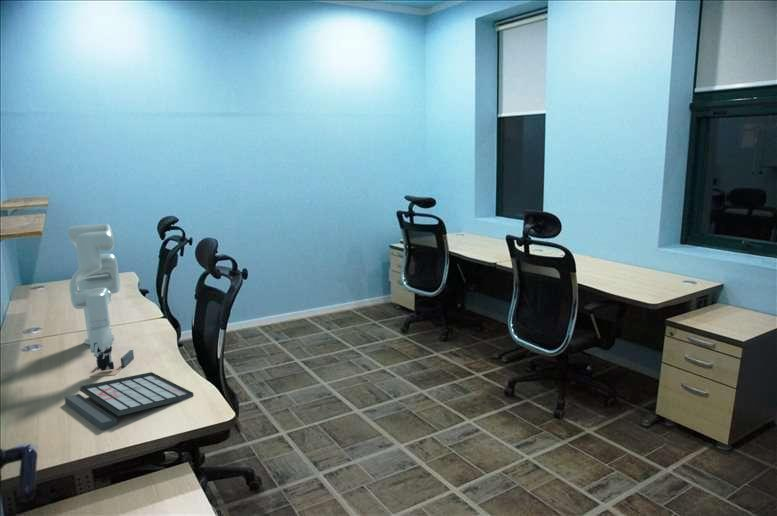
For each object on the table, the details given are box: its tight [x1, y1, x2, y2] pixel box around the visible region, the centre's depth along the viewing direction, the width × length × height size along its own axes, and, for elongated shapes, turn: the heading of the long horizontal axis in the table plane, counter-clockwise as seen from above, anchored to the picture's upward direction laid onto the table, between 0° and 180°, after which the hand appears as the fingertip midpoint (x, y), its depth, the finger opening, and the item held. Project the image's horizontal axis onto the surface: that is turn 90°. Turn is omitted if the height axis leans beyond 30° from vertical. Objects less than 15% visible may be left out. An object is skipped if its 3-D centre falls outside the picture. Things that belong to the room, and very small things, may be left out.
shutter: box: [64, 371, 194, 432], centre depth 193 cm, size 32×7×31 cm
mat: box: [89, 367, 123, 378], centre depth 218 cm, size 7×10×1 cm, turn 94°
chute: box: [95, 349, 135, 370], centre depth 227 cm, size 10×11×4 cm
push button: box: [95, 345, 115, 371], centre depth 217 cm, size 7×5×10 cm
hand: (105, 365), depth 218 cm, fingers closed on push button, 3 cm apart
